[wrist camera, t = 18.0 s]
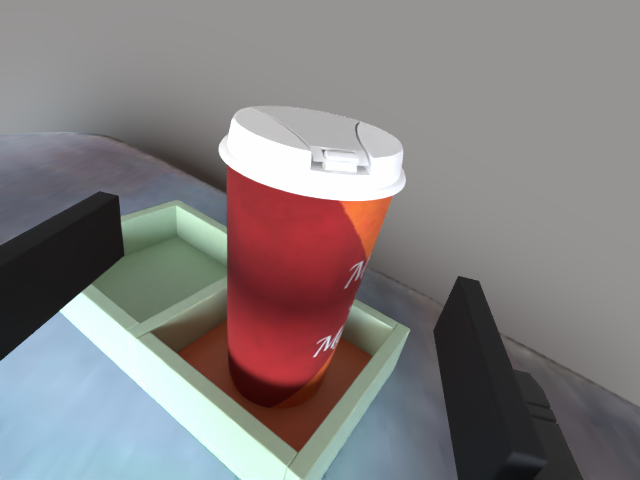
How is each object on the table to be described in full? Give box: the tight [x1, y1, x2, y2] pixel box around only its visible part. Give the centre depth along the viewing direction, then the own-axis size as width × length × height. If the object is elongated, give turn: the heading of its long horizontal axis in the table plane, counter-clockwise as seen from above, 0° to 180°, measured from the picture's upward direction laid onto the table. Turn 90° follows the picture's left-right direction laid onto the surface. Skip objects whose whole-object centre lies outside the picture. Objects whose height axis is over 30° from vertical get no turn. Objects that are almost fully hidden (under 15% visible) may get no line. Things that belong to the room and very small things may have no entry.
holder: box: [60, 200, 410, 480], centre depth 23 cm, size 21×11×4 cm, turn 56°
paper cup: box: [219, 106, 406, 409], centre depth 18 cm, size 8×8×14 cm
